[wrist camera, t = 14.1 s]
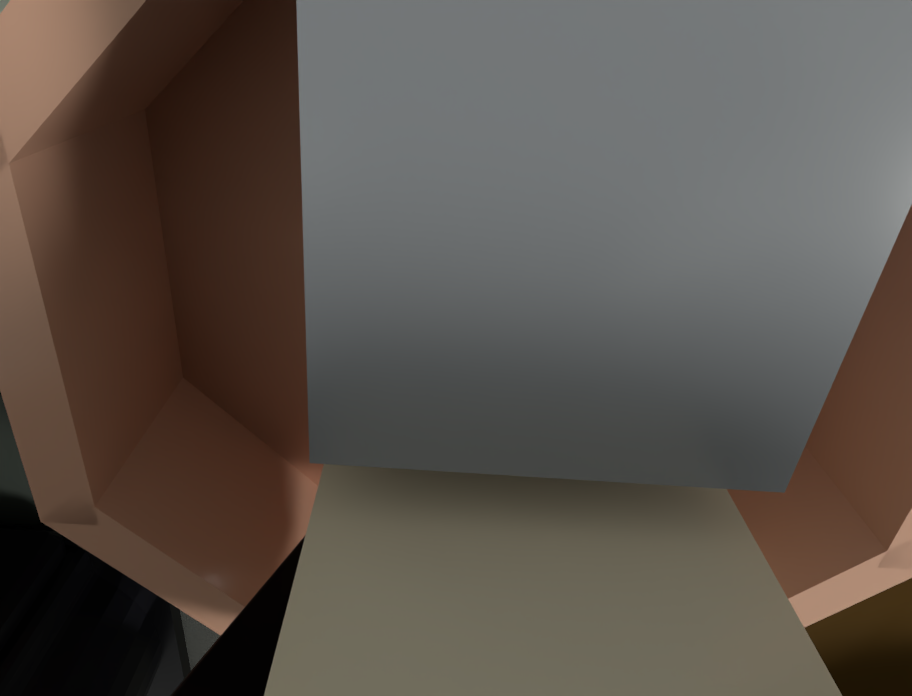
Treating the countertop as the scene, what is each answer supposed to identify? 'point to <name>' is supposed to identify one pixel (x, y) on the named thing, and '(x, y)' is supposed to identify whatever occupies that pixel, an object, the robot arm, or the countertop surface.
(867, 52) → the grey block
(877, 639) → the countertop surface
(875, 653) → the countertop surface
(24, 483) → the countertop surface
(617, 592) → the beige block
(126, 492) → the bowl
